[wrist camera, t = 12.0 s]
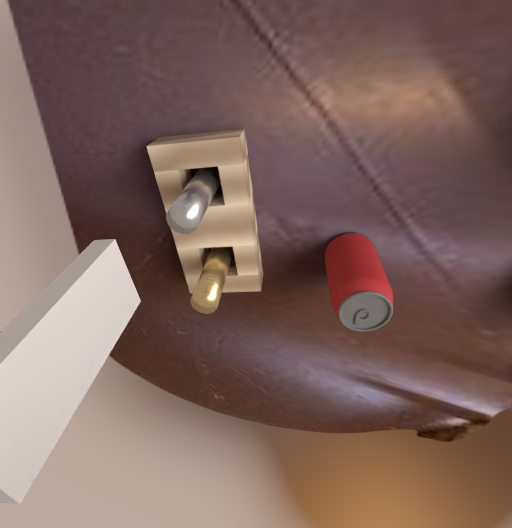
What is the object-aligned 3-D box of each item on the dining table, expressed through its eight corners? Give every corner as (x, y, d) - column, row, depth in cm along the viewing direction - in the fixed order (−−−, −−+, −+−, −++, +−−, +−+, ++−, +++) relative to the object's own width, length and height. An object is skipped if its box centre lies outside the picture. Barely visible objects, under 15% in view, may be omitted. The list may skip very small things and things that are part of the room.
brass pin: (211, 237, 44) (187, 292, 34) (232, 236, 43) (215, 292, 34) (215, 255, 45) (194, 313, 36) (236, 254, 45) (220, 313, 35)
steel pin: (195, 164, 38) (162, 205, 28) (220, 162, 38) (194, 203, 28) (200, 188, 40) (170, 234, 30) (224, 186, 40) (201, 233, 30)
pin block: (159, 137, 37) (146, 146, 34) (244, 128, 35) (239, 136, 32) (197, 276, 48) (190, 293, 45) (263, 273, 46) (260, 291, 43)
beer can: (316, 264, 45) (323, 326, 35) (336, 224, 41) (350, 281, 31) (360, 277, 45) (378, 341, 35) (383, 239, 42) (411, 299, 32)
